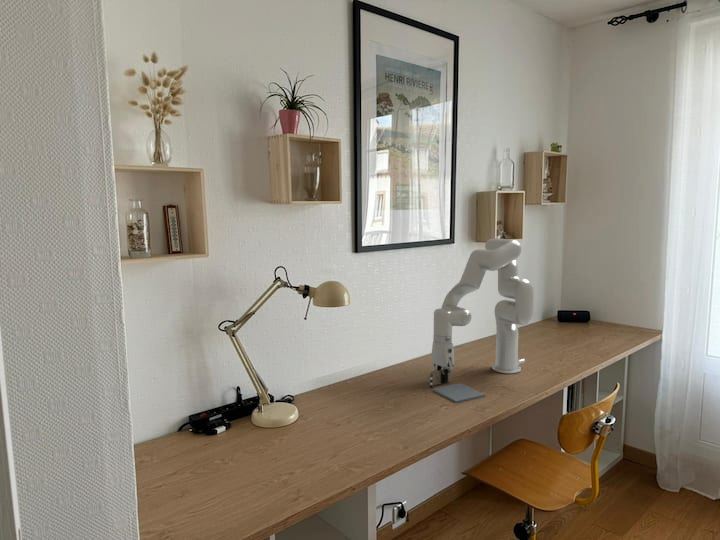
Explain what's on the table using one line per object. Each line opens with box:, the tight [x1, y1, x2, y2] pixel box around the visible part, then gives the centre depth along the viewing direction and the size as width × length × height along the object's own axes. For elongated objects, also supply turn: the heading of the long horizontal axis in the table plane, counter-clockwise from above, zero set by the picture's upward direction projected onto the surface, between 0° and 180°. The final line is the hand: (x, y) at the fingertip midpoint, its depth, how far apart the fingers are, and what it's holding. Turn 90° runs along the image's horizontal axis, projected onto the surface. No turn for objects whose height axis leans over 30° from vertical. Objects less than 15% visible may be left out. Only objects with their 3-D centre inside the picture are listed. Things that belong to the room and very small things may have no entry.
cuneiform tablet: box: [429, 369, 452, 389], centre depth 209 cm, size 6×4×12 cm
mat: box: [431, 382, 486, 404], centre depth 199 cm, size 14×15×1 cm
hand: (441, 381), depth 211 cm, fingers closed on cuneiform tablet, 2 cm apart
